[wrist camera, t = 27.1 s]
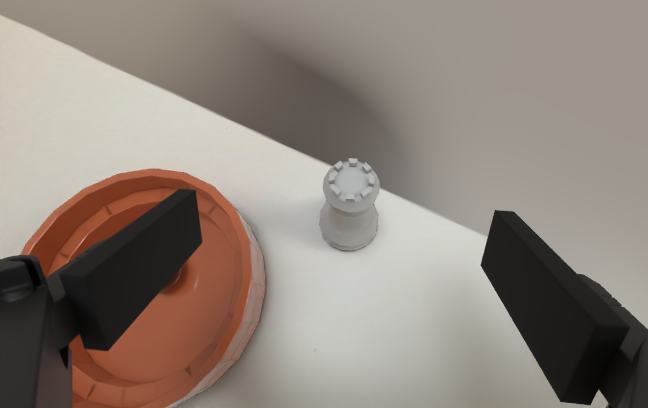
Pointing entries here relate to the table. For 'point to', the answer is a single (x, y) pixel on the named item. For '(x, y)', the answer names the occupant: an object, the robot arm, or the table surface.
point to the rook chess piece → (349, 205)
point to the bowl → (161, 294)
